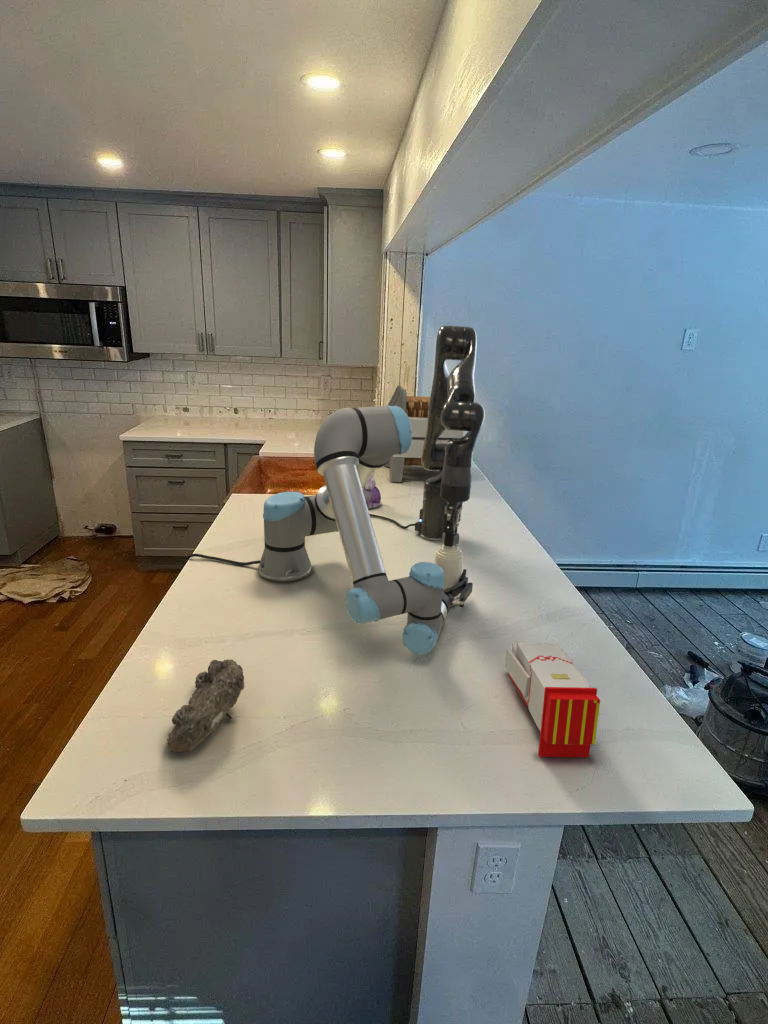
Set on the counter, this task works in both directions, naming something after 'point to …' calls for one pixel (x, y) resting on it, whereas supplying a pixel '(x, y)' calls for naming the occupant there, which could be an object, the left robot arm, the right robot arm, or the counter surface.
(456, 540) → the cap
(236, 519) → the counter surface
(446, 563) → the ribbed frosted cylinder
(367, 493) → the figurine
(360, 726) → the counter surface
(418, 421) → the transformer
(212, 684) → the fossil
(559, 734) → the toy
